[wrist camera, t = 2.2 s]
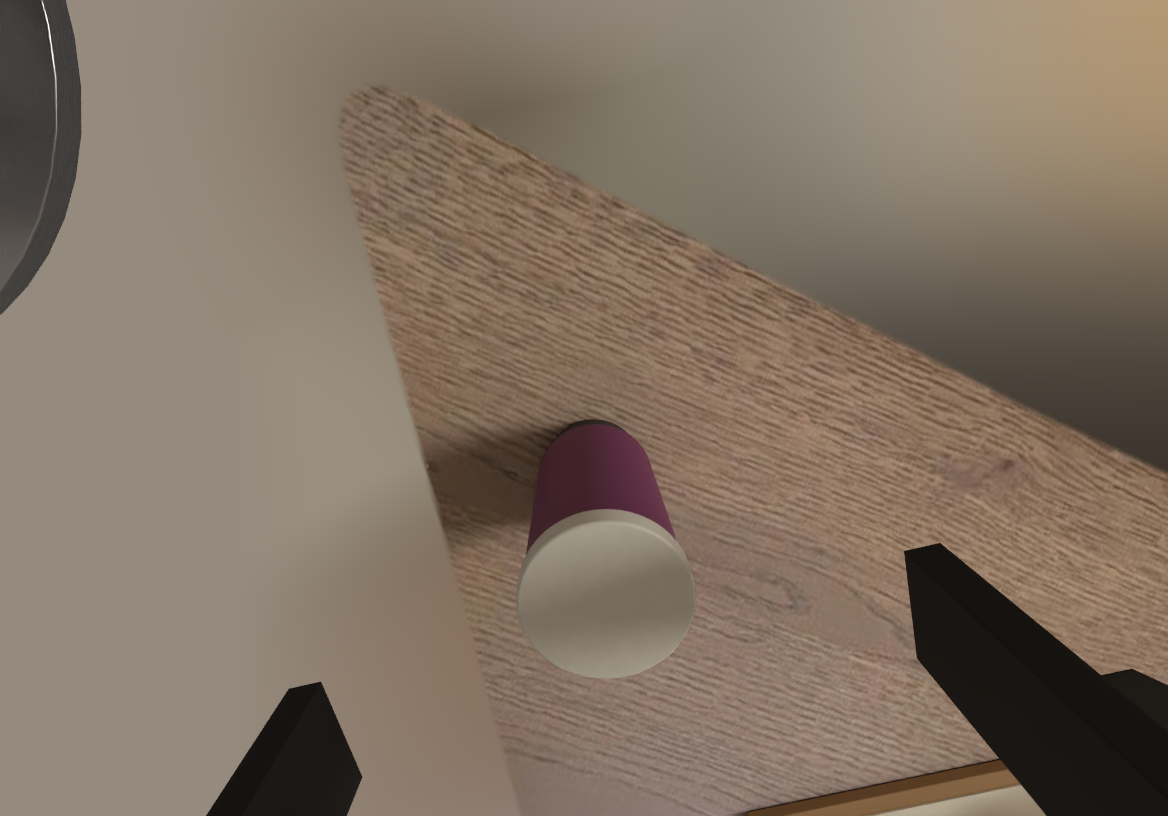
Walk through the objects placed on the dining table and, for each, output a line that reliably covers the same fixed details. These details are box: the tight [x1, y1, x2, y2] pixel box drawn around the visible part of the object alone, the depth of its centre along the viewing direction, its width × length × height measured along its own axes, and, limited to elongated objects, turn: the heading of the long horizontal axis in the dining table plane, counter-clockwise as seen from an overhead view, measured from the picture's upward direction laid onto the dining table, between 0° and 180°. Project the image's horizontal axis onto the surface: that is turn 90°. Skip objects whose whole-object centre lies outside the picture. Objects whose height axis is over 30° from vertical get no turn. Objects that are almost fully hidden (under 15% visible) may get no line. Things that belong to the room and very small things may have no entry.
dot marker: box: [516, 420, 696, 679], centre depth 20 cm, size 5×5×10 cm
